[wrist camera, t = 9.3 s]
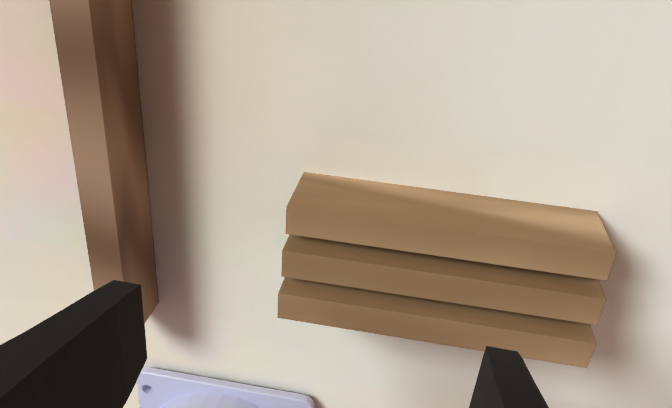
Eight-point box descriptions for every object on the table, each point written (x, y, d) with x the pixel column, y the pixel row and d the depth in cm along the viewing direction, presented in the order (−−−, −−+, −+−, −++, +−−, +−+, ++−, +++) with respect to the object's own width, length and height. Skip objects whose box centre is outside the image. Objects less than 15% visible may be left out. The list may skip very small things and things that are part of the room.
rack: (741, 398, 22) (780, 465, 20) (131, 298, 25) (94, 346, 22) (1161, -371, 12) (1360, -445, 9) (49, -401, 15) (-37, -464, 12)
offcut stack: (566, 299, 22) (587, 367, 19) (300, 259, 23) (277, 317, 20) (595, 209, 20) (623, 268, 17) (305, 169, 21) (280, 218, 18)
